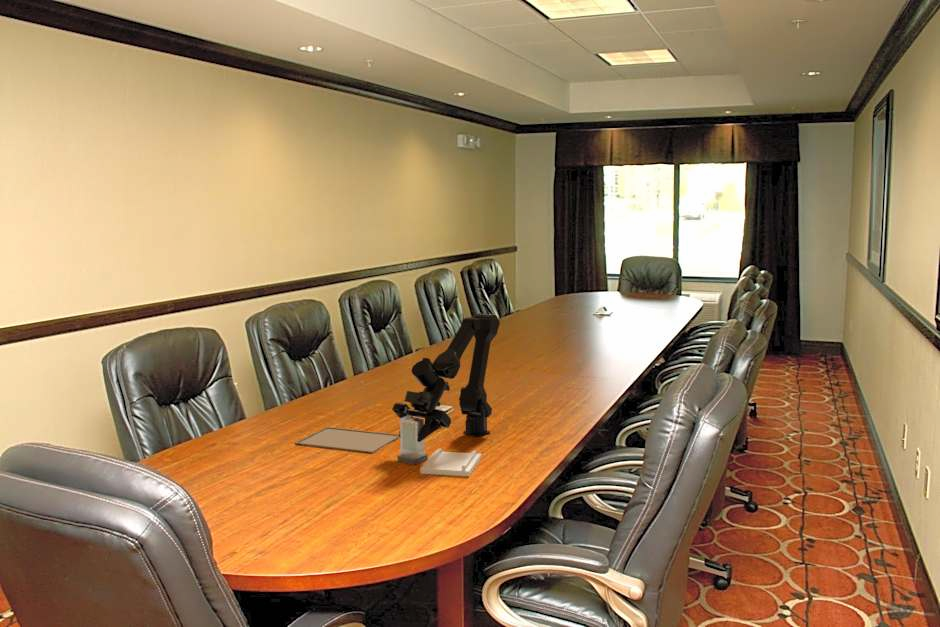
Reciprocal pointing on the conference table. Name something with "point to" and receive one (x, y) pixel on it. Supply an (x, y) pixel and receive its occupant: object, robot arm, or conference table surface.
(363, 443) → the grey flat bordered slab
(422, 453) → the tall brushed metal block
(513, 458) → the conference table surface
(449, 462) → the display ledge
